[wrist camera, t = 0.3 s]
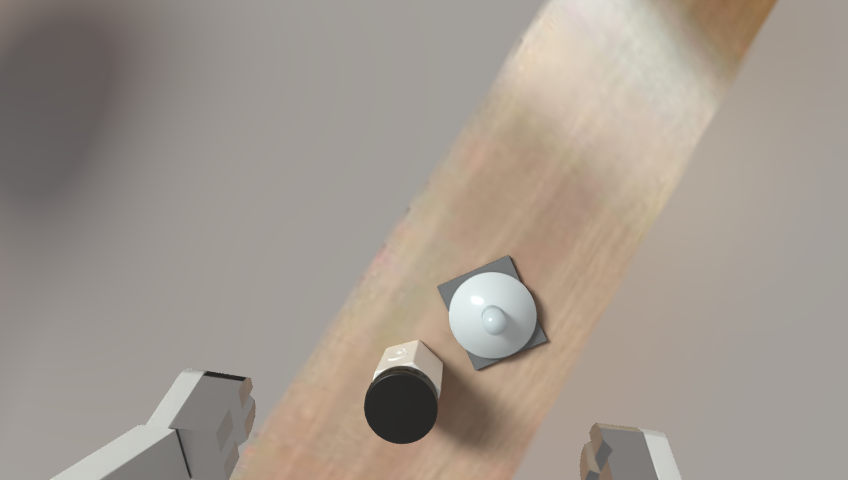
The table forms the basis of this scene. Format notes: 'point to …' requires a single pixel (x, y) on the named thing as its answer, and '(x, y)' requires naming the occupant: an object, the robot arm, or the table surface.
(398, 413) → the jar
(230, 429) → the robot arm
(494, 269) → the mat
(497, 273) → the lid
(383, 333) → the table surface
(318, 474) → the table surface
